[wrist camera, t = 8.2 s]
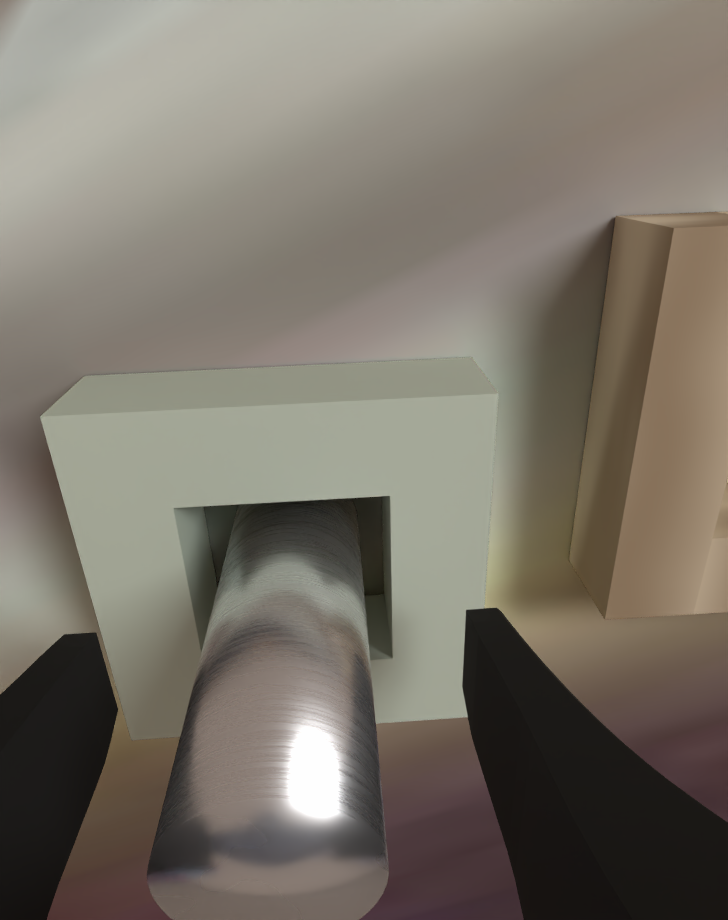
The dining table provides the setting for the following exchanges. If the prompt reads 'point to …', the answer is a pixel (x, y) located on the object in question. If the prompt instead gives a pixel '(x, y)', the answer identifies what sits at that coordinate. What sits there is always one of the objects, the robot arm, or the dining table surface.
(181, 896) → the rod
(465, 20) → the dining table surface
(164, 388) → the block
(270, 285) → the dining table surface
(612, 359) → the socket block
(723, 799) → the dining table surface
